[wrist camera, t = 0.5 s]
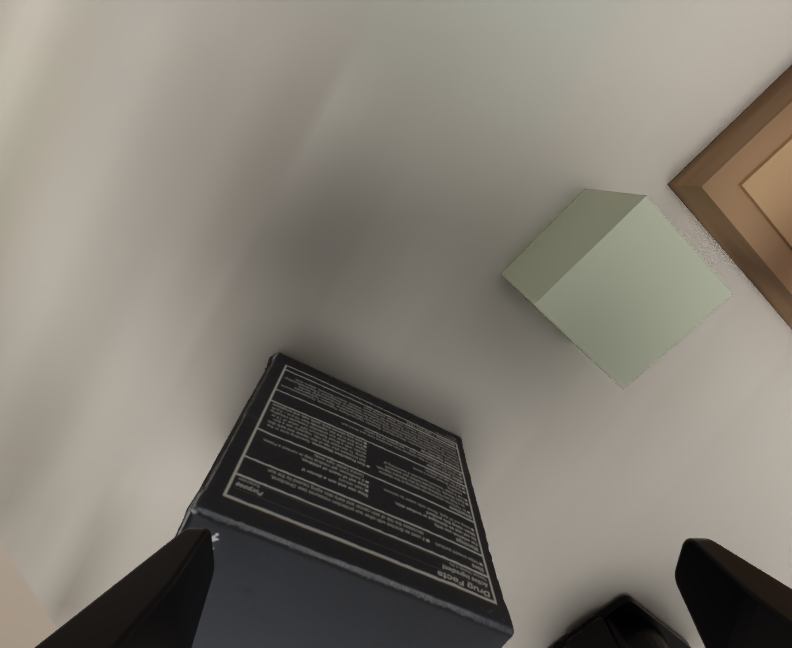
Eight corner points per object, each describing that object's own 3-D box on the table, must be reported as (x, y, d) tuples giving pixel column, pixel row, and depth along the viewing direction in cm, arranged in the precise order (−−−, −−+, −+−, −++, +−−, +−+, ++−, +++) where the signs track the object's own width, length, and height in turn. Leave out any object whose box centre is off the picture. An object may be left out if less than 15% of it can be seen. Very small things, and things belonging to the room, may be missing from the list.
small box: (224, 451, 24) (107, 658, 14) (275, 347, 22) (183, 496, 12) (405, 527, 25) (418, 758, 15) (466, 436, 24) (525, 631, 14)
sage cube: (655, 265, 21) (734, 293, 16) (572, 341, 22) (622, 389, 17) (584, 188, 20) (646, 195, 15) (500, 273, 21) (534, 304, 16)
